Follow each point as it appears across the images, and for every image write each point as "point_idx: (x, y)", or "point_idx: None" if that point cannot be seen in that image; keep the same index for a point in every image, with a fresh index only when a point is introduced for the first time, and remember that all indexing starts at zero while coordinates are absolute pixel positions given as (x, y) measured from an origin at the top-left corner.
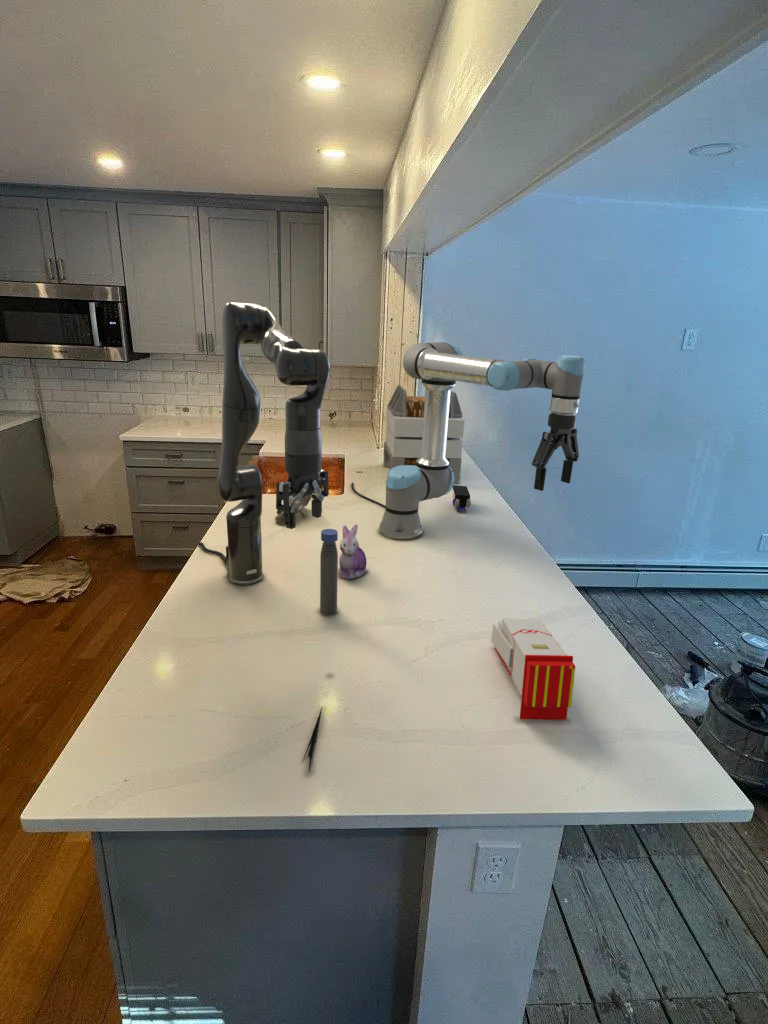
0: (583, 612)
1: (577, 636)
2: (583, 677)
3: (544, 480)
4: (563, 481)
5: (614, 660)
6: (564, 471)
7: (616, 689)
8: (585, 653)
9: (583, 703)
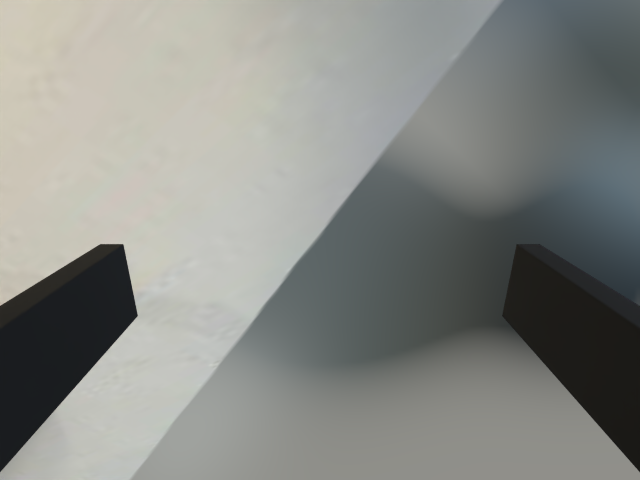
0: (233, 336)
1: (145, 371)
2: (59, 429)
3: (78, 376)
4: (512, 273)
5: (142, 433)
6: (575, 319)
7: (83, 463)
8: (114, 402)
9: None
